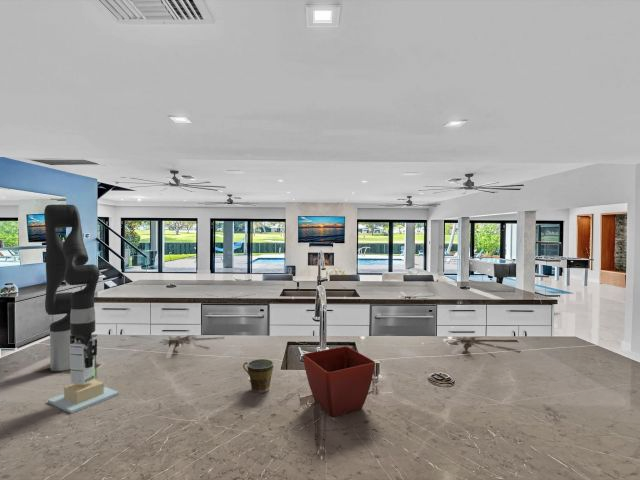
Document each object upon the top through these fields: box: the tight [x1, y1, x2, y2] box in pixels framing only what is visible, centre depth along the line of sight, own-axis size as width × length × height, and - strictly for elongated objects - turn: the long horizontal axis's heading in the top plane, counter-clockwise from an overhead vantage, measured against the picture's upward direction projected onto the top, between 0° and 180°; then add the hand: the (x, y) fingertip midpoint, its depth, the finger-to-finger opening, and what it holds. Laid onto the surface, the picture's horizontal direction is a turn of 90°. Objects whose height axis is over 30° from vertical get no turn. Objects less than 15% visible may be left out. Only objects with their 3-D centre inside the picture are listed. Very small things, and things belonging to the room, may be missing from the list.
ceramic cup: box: [242, 358, 274, 394], centre depth 139 cm, size 13×10×10 cm
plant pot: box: [302, 346, 376, 417], centre depth 125 cm, size 19×19×17 cm
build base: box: [47, 379, 120, 414], centre depth 130 cm, size 16×16×5 cm
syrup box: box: [70, 342, 98, 385], centre depth 130 cm, size 6×6×14 cm
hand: (83, 365), depth 130 cm, fingers closed on syrup box, 6 cm apart
